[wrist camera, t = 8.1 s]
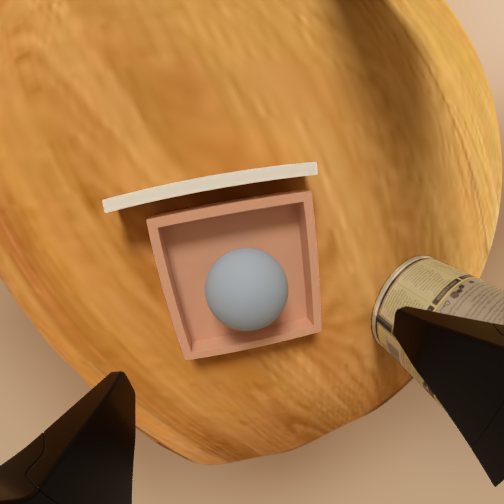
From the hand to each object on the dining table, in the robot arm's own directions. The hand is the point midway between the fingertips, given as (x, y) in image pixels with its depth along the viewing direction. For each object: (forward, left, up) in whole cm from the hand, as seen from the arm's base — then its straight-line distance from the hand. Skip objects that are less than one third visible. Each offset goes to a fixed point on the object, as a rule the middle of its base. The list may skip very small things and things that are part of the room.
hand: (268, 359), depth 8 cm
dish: (0, +1, -12) cm, 12 cm away
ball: (0, +1, -11) cm, 11 cm away
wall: (+1, -5, -12) cm, 13 cm away
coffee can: (-16, +8, -12) cm, 22 cm away
